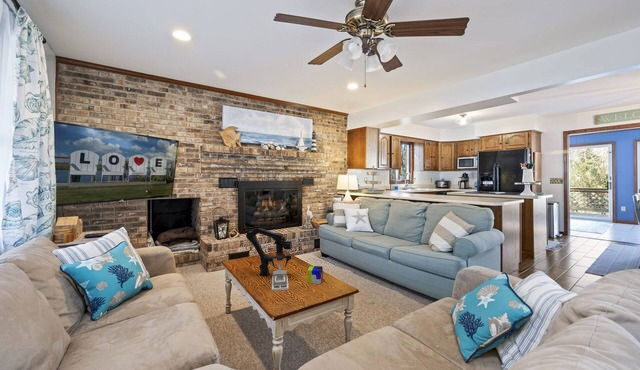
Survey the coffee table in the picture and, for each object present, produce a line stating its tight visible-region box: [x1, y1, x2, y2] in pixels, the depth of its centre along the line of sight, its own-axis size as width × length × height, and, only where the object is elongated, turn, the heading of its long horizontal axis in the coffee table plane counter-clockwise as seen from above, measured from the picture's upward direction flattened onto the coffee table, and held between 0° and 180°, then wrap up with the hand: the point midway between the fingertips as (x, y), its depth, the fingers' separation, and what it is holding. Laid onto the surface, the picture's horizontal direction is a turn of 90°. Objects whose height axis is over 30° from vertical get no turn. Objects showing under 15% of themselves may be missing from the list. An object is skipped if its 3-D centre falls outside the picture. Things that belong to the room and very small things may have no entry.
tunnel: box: [272, 269, 288, 286], centre depth 202 cm, size 7×10×8 cm
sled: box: [276, 263, 284, 280], centre depth 215 cm, size 16×6×8 cm, turn 9°
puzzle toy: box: [307, 265, 324, 285], centre depth 210 cm, size 10×10×10 cm
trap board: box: [271, 275, 289, 292], centre depth 206 cm, size 24×12×2 cm, turn 9°
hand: (280, 267), depth 222 cm, fingers open, 9 cm apart
